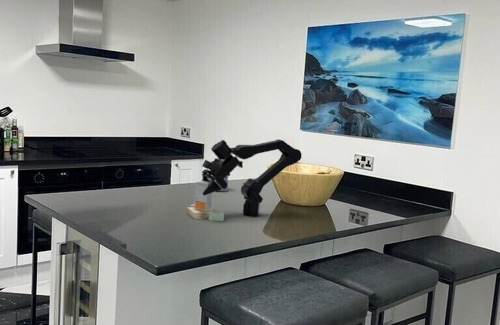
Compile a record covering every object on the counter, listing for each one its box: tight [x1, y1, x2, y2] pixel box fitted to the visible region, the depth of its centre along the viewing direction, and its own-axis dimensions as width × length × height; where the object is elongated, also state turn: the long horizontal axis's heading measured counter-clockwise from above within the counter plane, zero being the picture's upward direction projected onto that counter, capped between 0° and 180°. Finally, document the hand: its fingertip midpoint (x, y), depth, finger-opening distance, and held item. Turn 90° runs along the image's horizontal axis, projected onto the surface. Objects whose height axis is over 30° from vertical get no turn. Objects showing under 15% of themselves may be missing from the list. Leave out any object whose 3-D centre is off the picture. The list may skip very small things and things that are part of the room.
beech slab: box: [186, 206, 217, 220], centre depth 210 cm, size 10×10×2 cm
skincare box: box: [194, 180, 213, 211], centre depth 209 cm, size 6×4×12 cm
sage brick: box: [207, 211, 225, 222], centre depth 205 cm, size 6×3×3 cm, turn 102°
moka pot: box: [213, 157, 229, 193], centre depth 269 cm, size 10×15×20 cm, turn 148°
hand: (200, 192), depth 208 cm, fingers open, 8 cm apart
